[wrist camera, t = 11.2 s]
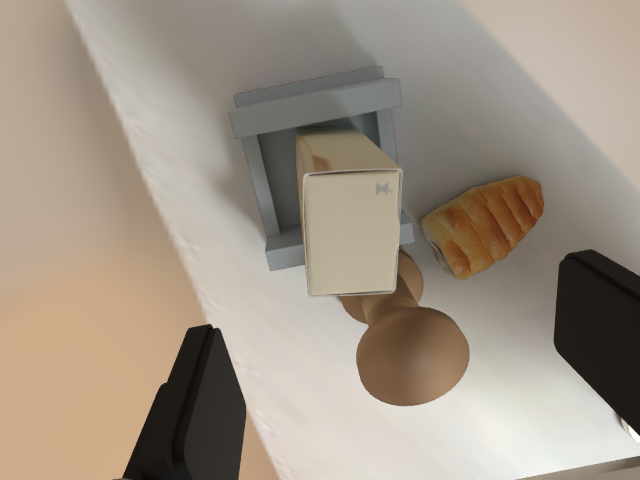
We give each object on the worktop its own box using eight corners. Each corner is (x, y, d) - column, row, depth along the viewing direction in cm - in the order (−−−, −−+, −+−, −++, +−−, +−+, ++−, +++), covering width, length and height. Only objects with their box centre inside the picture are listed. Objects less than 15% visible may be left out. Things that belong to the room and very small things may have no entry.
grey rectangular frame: (378, 66, 27) (397, 64, 22) (396, 226, 31) (415, 252, 27) (235, 94, 27) (224, 99, 22) (274, 250, 31) (272, 280, 27)
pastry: (513, 150, 30) (543, 160, 27) (545, 216, 33) (576, 233, 29) (409, 219, 32) (425, 237, 28) (447, 277, 34) (466, 300, 31)
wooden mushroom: (416, 239, 32) (467, 305, 23) (422, 310, 35) (470, 394, 26) (332, 256, 32) (351, 329, 23) (345, 325, 35) (366, 415, 26)
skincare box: (294, 126, 27) (299, 164, 16) (356, 124, 27) (406, 159, 16) (298, 215, 29) (306, 302, 18) (355, 211, 30) (397, 295, 18)
